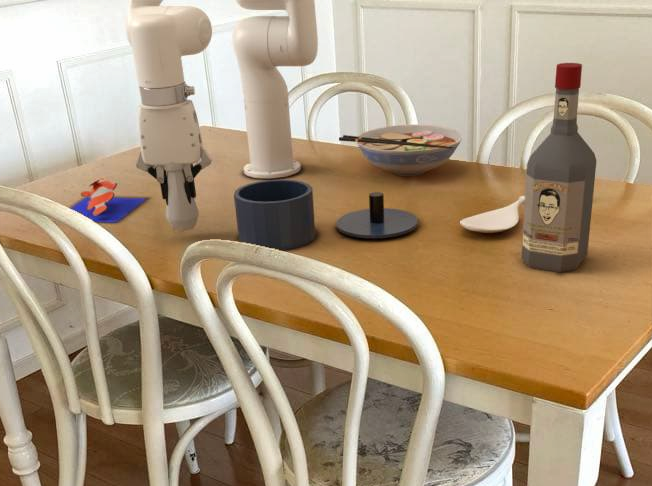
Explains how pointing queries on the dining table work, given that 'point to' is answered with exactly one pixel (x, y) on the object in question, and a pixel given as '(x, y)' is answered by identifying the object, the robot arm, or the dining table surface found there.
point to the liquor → (560, 185)
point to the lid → (377, 220)
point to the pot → (275, 213)
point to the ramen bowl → (407, 147)
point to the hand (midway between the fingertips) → (180, 201)
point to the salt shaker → (179, 200)
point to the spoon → (494, 219)
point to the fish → (105, 203)
